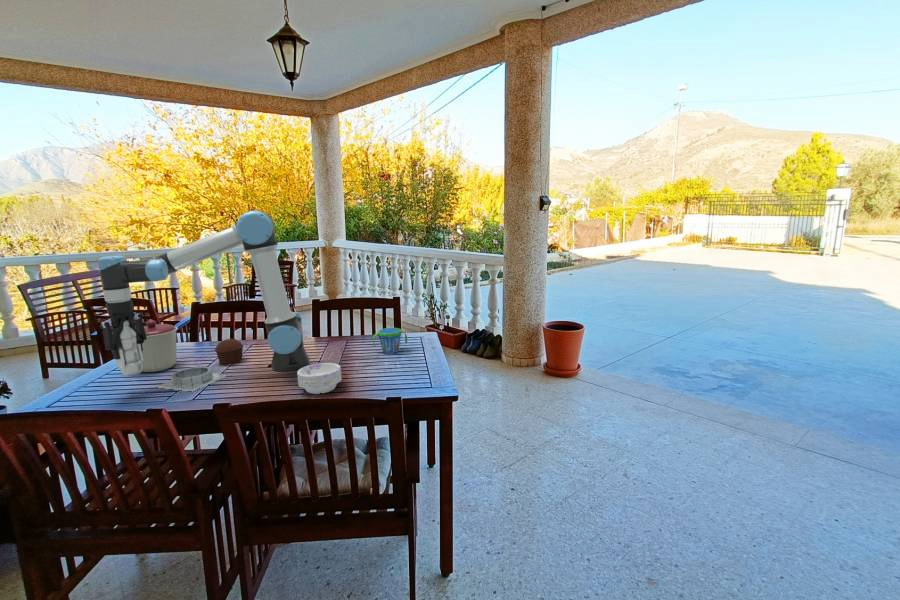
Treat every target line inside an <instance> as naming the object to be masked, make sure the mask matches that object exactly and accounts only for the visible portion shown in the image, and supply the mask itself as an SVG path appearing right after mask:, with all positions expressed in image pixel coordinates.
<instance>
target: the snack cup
mask: <svg viewBox="0 0 900 600" xmlns="http://www.w3.org/2000/svg"><path fill="white" fill-rule="evenodd" d="M402 333H403V334H404V337H405V341H404V343H405V344H407V343H408V335H407V333H406V331H404V330H402V329H401V328H398V327H386V328H385V327H384V328H382V329H379V330H378V331H377V332H376V333H374V335H373V337H372V345H373V347H376V345H375V338H376V337H377V336H378V339H379V341H380V345H381V350H382V353H383V354H386V353H393V354H396V353H398V352H399V351H400V344H401V343H400V342H401V336H402ZM395 352H396V353H395Z"/></svg>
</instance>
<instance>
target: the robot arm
mask: <svg viewBox="0 0 900 600" xmlns="http://www.w3.org/2000/svg"><path fill="white" fill-rule="evenodd" d="M275 231H276V224H275V222H274V219H273V218H272V217H271V216H270V215H269V214H267V213H266V212H264V211H259V210H249V211H246V212H244V213H243V214H242V215H241V216H240V217H239V218H238V220H237V221H236V222H235V221H234V223H233V225H232V226H231V227H228V228H225V229H223V230H220V231H218V232H216V233H213V234H210V235H207V236H206V237H202V238H200V239H198V240H196V241H192V242H191V243H188V244H184V245H183V246H179V247H178V248H175V249H172V250H169V251H168V252H166V253H163V254H159V255H158V256H155V257H152V258H147V259H143V260H142V259H141V260H131V261H130V260H126V258H125V257H124V256H123V255H108V256H100V257H99V258H98V260H97V266H98V273H99V276H100V277H99V278H100V281H101V282H100V283H101V287H102V293H103V297H104V301H105V302H106V303H105V309H106V312H107V314H108V318H107V320H105V321H100V323H99V324H100V327H101V328H102V333H103V342H104V349H105V351H111V352H112V356H113V359H114V360H116V361H115V362H116V367H117V368H118V369H120V368H125V362H124V357H123V352H122V349H120V334H121V332H122V330H123V324H124V321H126V320H128V321H129V323H130V325H129V326H130V327H131V328H132V329H133V330H134V331H135V332H136V338H137V350H138V354H139V358H140V360H141V362H142V361H143V356H142V351H143V347H142V343H144V340H146V339H147V337H146V333H145V329H144V326H145V325H144V322H143V321H144V320H143V319H144V318H143V316H144V315H143V313H135V311H134V304H133V300H132V291H131V288H130V287H131V286H130V283H131V284H132V283H147V282H154V283H155V282H159V281H165V280H167V279H168V276H169V275H171V274H173V273H176V272H178V271H179V270H183V269H185V268H188V267H189V266H193V265H195V264H197V263H200V262H202V261H205V260H208V259H210V258H213V257H215V256H217V255H219V254H220V255H221V254H223V253H225V252H227V251H231V250H233V249H235V248H237V247H240V246H243V249H244V252H246V254H247V253H248V254H249V255H250V258H251V262H252V266H253V269H254V272H255V276H256V280H257V284H258V287H259V290H260V293H261V298H262V301H263V305H264V309H265V312H266V313H265V314H266V316H267V317H266V319H265V320H264V325H265V328H266V333H267V343H268V345H269V348H270V349H271V350H272V351H273V355H272V358H271V364H270V365H271V370H273V371H275V372H280V373H281V372H286V373H287V372H294V371H298V370H299V369H301V368H303V367H305V366H308V365H311V364H310V357H309V356H308V353H307V351H306V349H305V346H304V335H303V326H302V325H303V324H302V323H303V322H302V318H303V317H302V315H301V313H300V312H299V311H292V310H291V306H290V304H289V299H288V295H287V291H286V287H285V284H284V280H283V277H282V273H281V269H280V265H279V261H278V257H277V253H276V248H277V247H278V241H277V236H276V233H275Z"/></svg>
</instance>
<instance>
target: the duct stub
mask: <svg viewBox="0 0 900 600" xmlns="http://www.w3.org/2000/svg"><path fill="white" fill-rule="evenodd" d="M226 377H227V376H226V374H225V373H215V372H213V369H212V367H210V366H192V367H188V368H184V369H180V370H177V371H175V372H173V373H172V374H171V376H170V380H169V381H167V382H164V383H162V384H159V385H157V387H158V389H159V388H165V389H164V390H169V389H174V390H173V391H178V390H182V391H181V392H187V391H192V392H191V393H194V392H196V391H198V390H200V389H202V387H203V388H204V386H205V387H206V385H207V386H209V385H212V384H213V383H215V382H218V381H220V380H222V379H224V378H226ZM217 380H218V381H217ZM208 384H209V385H208ZM199 388H200V389H199ZM197 389H198V390H197ZM195 390H196V391H195ZM193 391H194V392H193Z"/></svg>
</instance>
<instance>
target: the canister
mask: <svg viewBox="0 0 900 600" xmlns="http://www.w3.org/2000/svg"><path fill="white" fill-rule="evenodd" d="M144 329H145V333H146V337H147V339H146V340H144V343H142V347H143V351H142V356H143V361H142V365H143V370H142V372H144V373H155V372H161V371H165V370H169V369H171V368H173V367H174V366H175V364H176V363H177V330H178V327H177V326H174V325H173V324H169V323H162V324H161V323H158V324H157V320H154V319H150V320H147V321H146V322H145V325H144Z"/></svg>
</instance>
